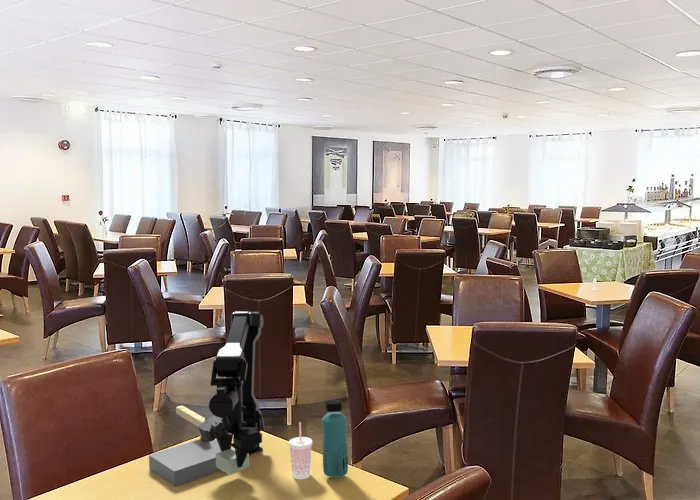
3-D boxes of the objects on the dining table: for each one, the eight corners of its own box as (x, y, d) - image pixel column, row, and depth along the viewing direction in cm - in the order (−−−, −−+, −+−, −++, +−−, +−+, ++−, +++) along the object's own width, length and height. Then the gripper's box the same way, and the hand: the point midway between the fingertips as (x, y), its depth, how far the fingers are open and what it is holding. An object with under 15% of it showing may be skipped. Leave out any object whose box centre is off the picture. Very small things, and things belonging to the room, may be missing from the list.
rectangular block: (236, 460, 165) (235, 447, 164) (249, 467, 160) (248, 453, 160) (215, 467, 160) (215, 453, 160) (228, 474, 156) (228, 460, 156)
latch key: (210, 439, 176) (209, 420, 175) (202, 442, 174) (202, 422, 174) (183, 423, 189) (182, 405, 189) (176, 425, 188) (175, 407, 187)
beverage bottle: (345, 484, 157) (344, 406, 155) (319, 482, 159) (318, 404, 157) (350, 473, 164) (349, 397, 162) (325, 471, 165) (324, 396, 163)
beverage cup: (318, 474, 163) (317, 421, 162) (300, 482, 159) (299, 428, 157) (301, 467, 167) (300, 416, 166) (284, 475, 163) (283, 422, 161)
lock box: (209, 450, 180) (208, 436, 179) (236, 465, 169) (236, 450, 169) (149, 469, 167) (148, 454, 167) (174, 486, 157) (174, 471, 157)
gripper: (183, 402, 160) (185, 461, 162) (223, 420, 147) (225, 485, 148) (221, 392, 168) (223, 449, 169) (262, 409, 154) (264, 470, 156)
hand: (232, 463), depth 160 cm, fingers closed on rectangular block, 6 cm apart
